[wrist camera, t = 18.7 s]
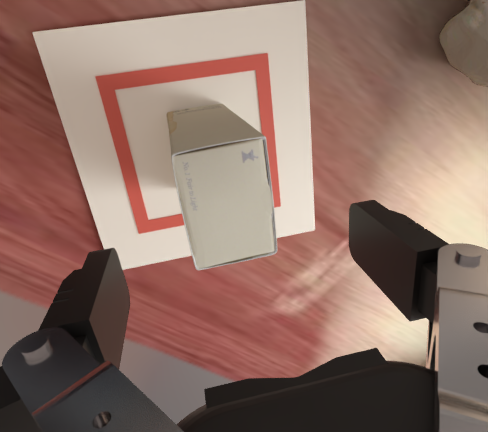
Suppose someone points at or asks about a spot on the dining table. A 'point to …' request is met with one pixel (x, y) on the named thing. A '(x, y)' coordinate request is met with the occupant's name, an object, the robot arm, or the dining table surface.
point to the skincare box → (222, 185)
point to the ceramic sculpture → (468, 41)
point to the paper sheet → (177, 98)
